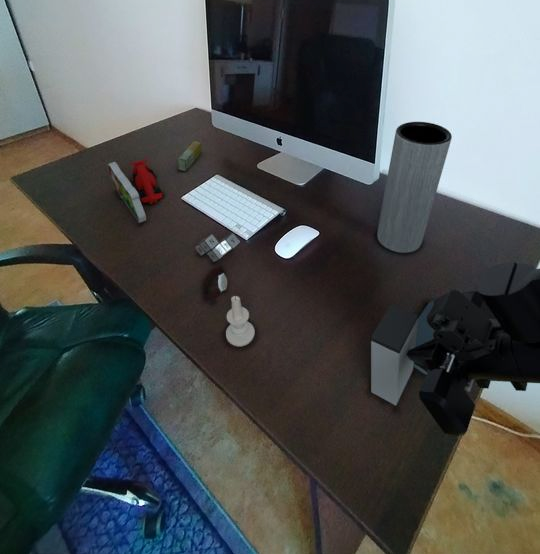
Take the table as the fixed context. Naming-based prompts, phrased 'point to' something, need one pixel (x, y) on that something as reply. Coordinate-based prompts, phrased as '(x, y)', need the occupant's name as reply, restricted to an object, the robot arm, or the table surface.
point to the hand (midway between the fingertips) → (408, 355)
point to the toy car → (145, 182)
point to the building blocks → (216, 246)
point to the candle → (239, 324)
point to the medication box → (189, 156)
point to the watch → (221, 282)
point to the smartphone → (423, 332)
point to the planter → (412, 184)
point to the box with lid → (392, 353)
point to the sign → (127, 192)
